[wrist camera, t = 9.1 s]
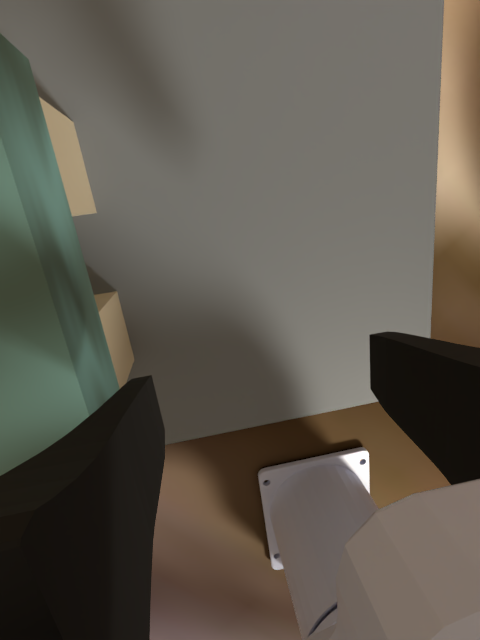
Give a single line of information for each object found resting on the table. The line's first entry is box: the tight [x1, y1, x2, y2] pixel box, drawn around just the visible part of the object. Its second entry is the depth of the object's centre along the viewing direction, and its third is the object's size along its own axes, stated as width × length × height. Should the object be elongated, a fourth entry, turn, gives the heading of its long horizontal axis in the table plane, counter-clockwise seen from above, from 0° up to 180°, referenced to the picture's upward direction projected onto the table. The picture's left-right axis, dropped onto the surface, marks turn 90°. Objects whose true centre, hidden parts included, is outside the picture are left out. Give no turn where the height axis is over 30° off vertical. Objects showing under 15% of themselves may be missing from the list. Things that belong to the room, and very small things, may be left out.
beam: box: [0, 33, 120, 476], centre depth 12 cm, size 14×4×4 cm, turn 7°
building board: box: [0, 0, 444, 445], centre depth 17 cm, size 24×26×5 cm
